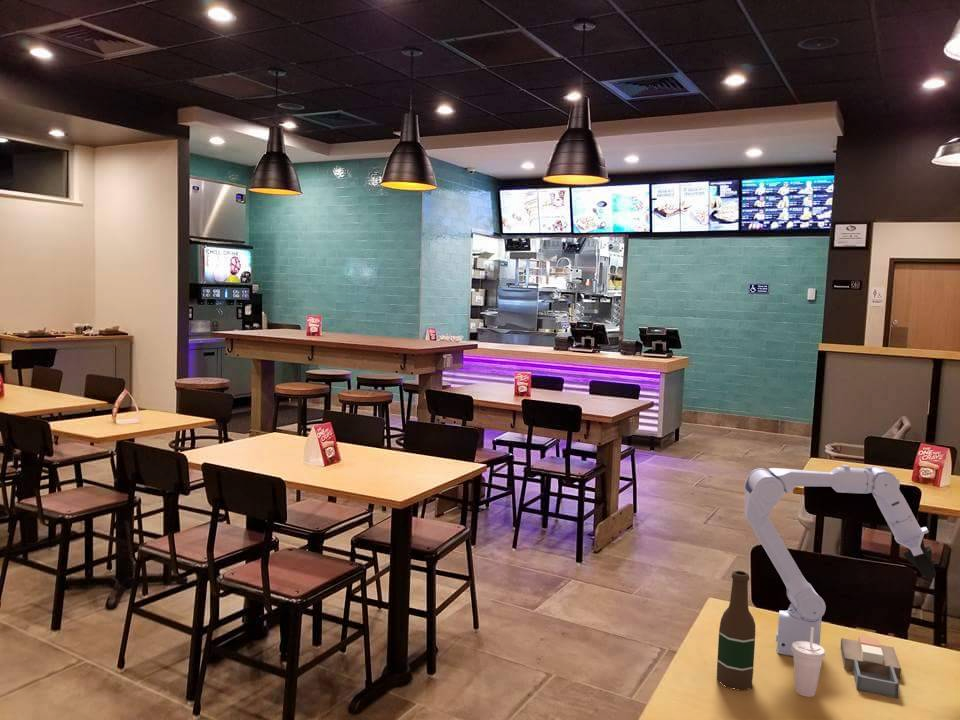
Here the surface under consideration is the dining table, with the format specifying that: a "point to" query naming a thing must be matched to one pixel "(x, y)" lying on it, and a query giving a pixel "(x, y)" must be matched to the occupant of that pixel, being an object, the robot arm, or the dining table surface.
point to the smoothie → (807, 665)
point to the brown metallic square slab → (852, 651)
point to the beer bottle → (737, 638)
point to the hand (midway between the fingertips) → (927, 569)
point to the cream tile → (871, 654)
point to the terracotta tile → (868, 641)
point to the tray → (876, 681)
